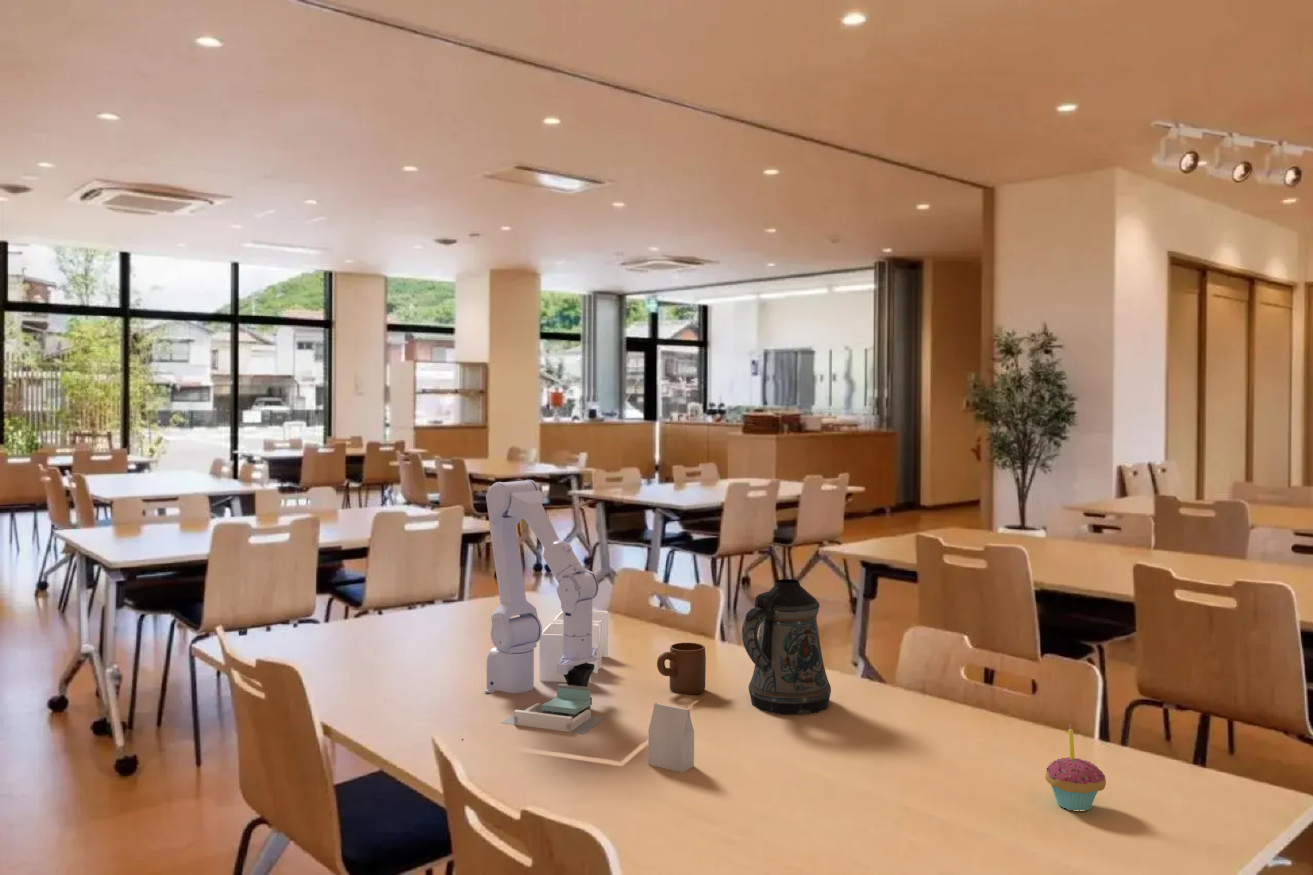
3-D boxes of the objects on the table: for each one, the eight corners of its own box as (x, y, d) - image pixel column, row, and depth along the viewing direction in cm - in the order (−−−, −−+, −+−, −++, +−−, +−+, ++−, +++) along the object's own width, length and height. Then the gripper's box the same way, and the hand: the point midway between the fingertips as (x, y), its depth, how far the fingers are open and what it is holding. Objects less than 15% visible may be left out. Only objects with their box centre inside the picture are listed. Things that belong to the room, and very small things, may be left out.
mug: (669, 702, 207) (670, 656, 207) (645, 693, 213) (646, 649, 212) (712, 691, 215) (713, 647, 214) (688, 683, 220) (689, 640, 220)
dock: (501, 726, 191) (501, 709, 191) (526, 711, 201) (526, 695, 200) (583, 737, 185) (583, 720, 185) (605, 721, 194) (606, 704, 194)
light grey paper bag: (682, 773, 168) (682, 713, 168) (648, 764, 172) (648, 706, 172) (693, 766, 171) (694, 707, 171) (660, 758, 175) (660, 700, 175)
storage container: (562, 655, 244) (562, 610, 244) (607, 657, 243) (608, 611, 243) (539, 685, 219) (539, 634, 219) (589, 686, 218) (590, 636, 218)
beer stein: (839, 697, 211) (841, 577, 210) (813, 725, 193) (814, 593, 192) (763, 687, 218) (764, 571, 217) (731, 713, 200) (732, 586, 199)
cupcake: (1035, 796, 159) (1036, 720, 159) (1087, 794, 160) (1089, 718, 160) (1061, 818, 151) (1063, 738, 150) (1116, 816, 152) (1118, 737, 151)
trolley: (541, 716, 195) (542, 691, 195) (558, 706, 202) (559, 682, 202) (575, 720, 193) (575, 695, 193) (591, 710, 200) (592, 686, 200)
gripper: (580, 643, 194) (580, 714, 194) (611, 627, 207) (610, 693, 208) (547, 640, 196) (547, 710, 197) (579, 624, 210) (579, 689, 210)
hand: (577, 701), depth 202 cm, fingers closed
